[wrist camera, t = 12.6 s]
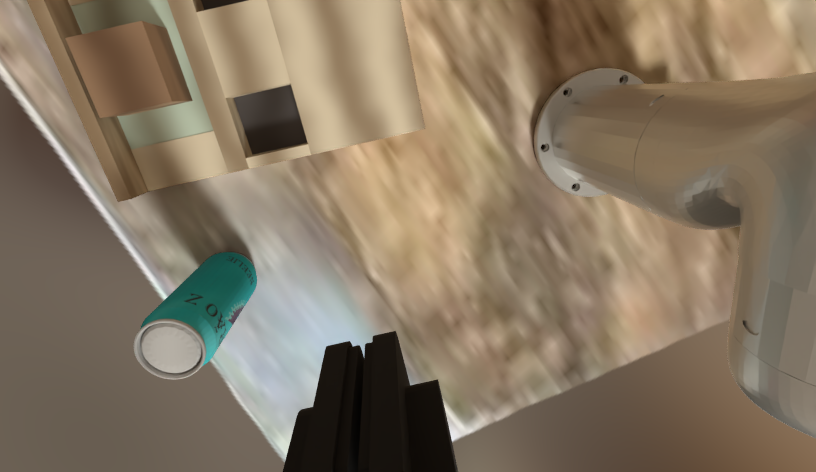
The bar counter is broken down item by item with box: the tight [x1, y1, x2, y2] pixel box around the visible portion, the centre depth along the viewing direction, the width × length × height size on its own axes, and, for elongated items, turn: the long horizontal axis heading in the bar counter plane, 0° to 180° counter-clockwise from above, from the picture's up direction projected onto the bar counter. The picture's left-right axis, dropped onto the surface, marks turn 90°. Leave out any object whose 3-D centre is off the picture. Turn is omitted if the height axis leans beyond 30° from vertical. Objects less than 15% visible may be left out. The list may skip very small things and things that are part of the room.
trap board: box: [27, 0, 425, 202], centre depth 37 cm, size 28×20×6 cm
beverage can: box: [134, 252, 257, 379], centre depth 39 cm, size 6×6×15 cm
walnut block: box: [65, 21, 193, 118], centre depth 35 cm, size 6×6×4 cm
